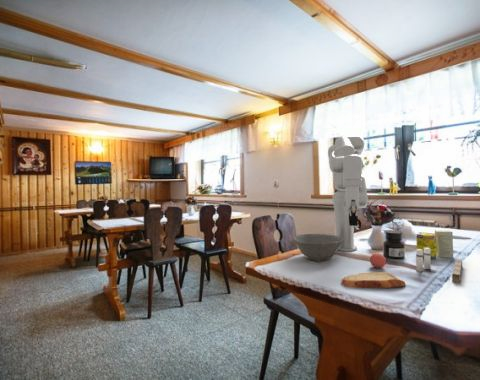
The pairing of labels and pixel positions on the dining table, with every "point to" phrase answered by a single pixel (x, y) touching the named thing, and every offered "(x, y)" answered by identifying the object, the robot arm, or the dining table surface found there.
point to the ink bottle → (394, 245)
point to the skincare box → (444, 243)
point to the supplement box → (427, 243)
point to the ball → (377, 260)
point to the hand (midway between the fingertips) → (353, 223)
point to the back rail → (457, 271)
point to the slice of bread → (372, 280)
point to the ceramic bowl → (318, 245)
